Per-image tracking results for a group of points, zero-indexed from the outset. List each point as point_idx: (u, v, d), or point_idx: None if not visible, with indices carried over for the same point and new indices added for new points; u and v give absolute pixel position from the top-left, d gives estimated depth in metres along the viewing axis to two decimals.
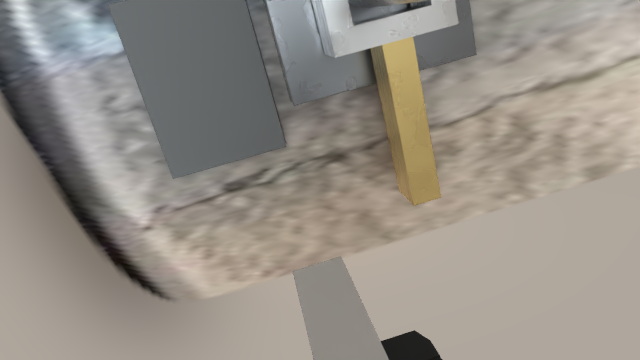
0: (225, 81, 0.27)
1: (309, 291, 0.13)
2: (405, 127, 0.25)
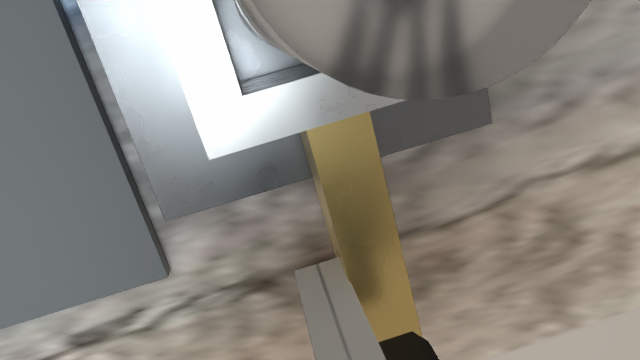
0: (45, 175, 0.15)
1: (311, 291, 0.13)
2: (362, 279, 0.13)
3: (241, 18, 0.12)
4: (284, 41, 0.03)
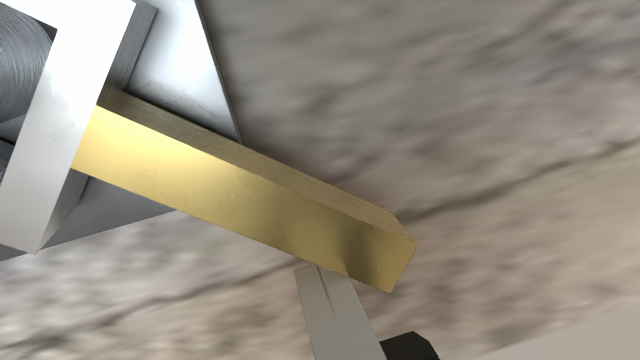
0: None
1: (311, 291, 0.13)
2: (250, 224, 0.12)
3: None
4: None
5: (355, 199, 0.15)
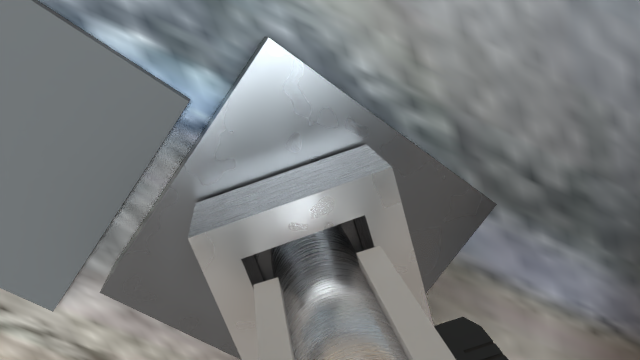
0: (54, 187, 0.18)
1: (267, 307, 0.13)
2: None
3: (278, 269, 0.15)
4: None
5: None
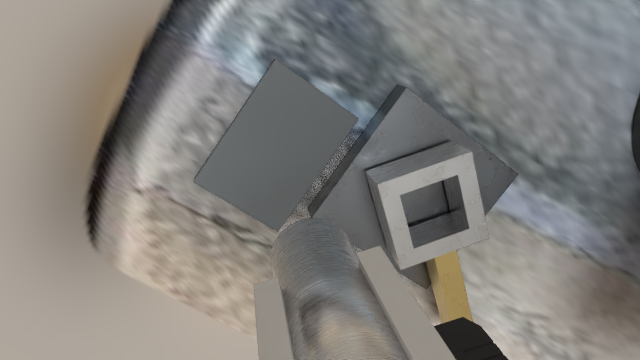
0: (288, 163, 0.34)
1: (267, 307, 0.13)
2: (452, 308, 0.34)
3: (278, 271, 0.15)
4: None
5: None
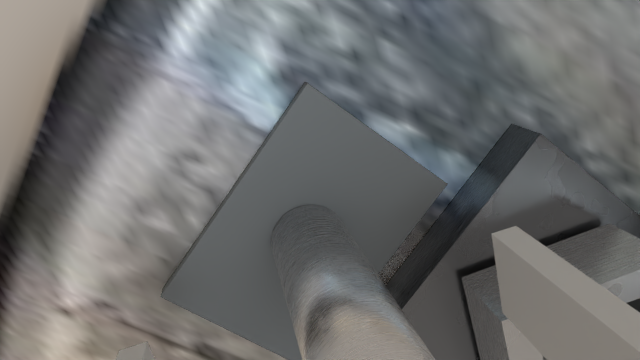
0: None
1: None
2: None
3: (280, 252, 0.17)
4: None
5: None
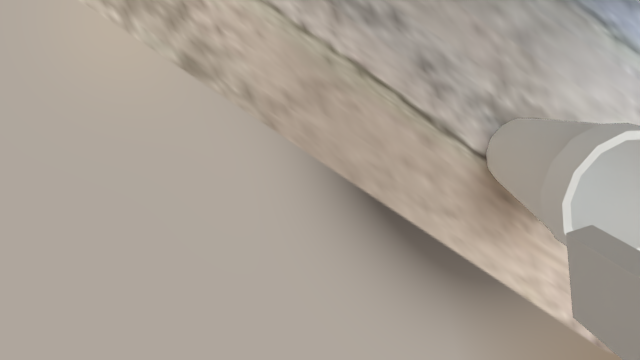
0: None
1: None
2: None
3: None
4: None
5: None
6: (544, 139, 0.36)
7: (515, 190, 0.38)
